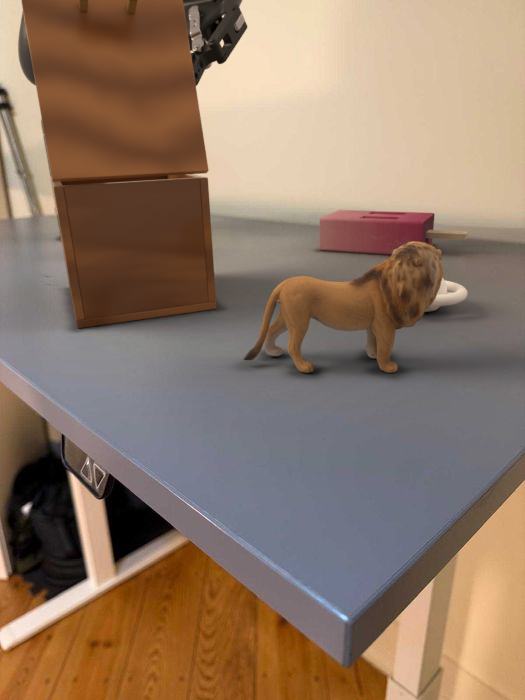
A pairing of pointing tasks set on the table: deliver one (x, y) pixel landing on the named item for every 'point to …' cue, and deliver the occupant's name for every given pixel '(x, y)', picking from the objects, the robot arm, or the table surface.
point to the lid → (115, 88)
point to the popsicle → (378, 231)
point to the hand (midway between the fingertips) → (161, 88)
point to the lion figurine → (356, 304)
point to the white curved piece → (448, 295)
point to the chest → (136, 247)
